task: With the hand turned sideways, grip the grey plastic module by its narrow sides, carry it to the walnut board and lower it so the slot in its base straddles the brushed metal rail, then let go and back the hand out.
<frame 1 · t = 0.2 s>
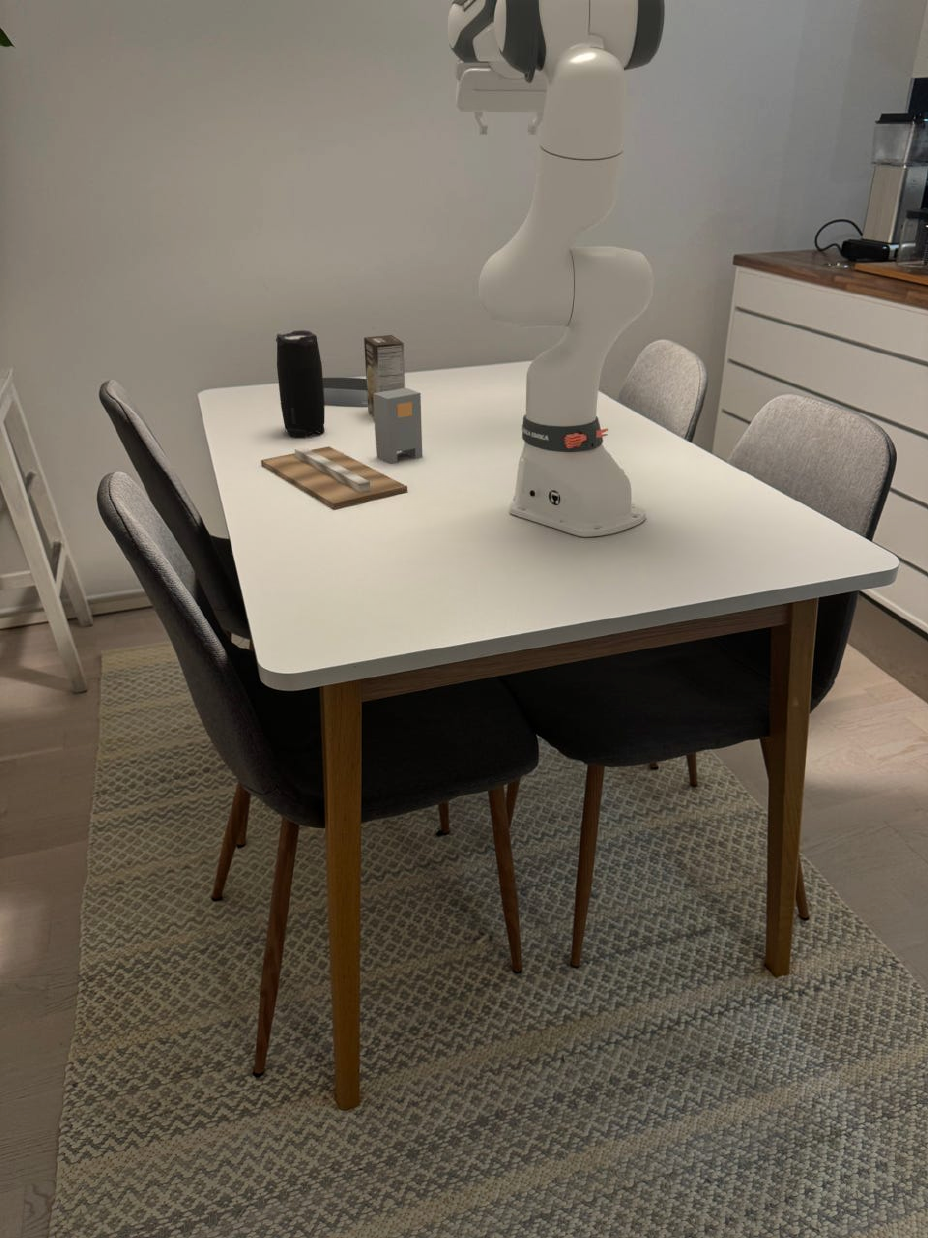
hand: (507, 133, 175), 54 cm above the table, tool tilted 30°, fingers open, 8 cm apart
rail: (331, 477, 162), on the table
coffee box: (387, 416, 198), on the table
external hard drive: (346, 401, 211), on the table
portable speaker: (305, 433, 187), on the table
module: (399, 456, 172), on the table
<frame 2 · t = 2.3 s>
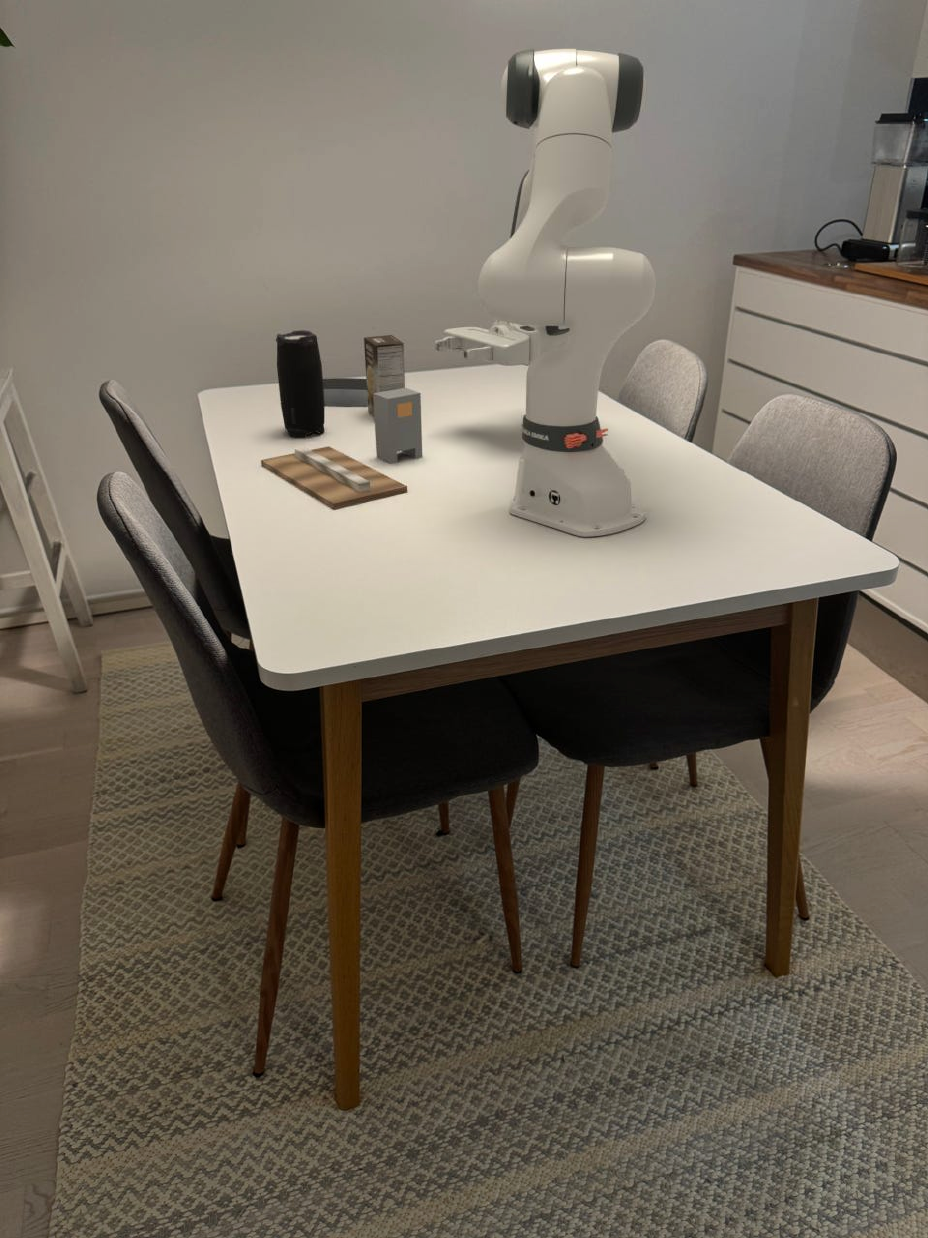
hand: (451, 350, 170), 18 cm above the table, tool horizontal, fingers open, 8 cm apart
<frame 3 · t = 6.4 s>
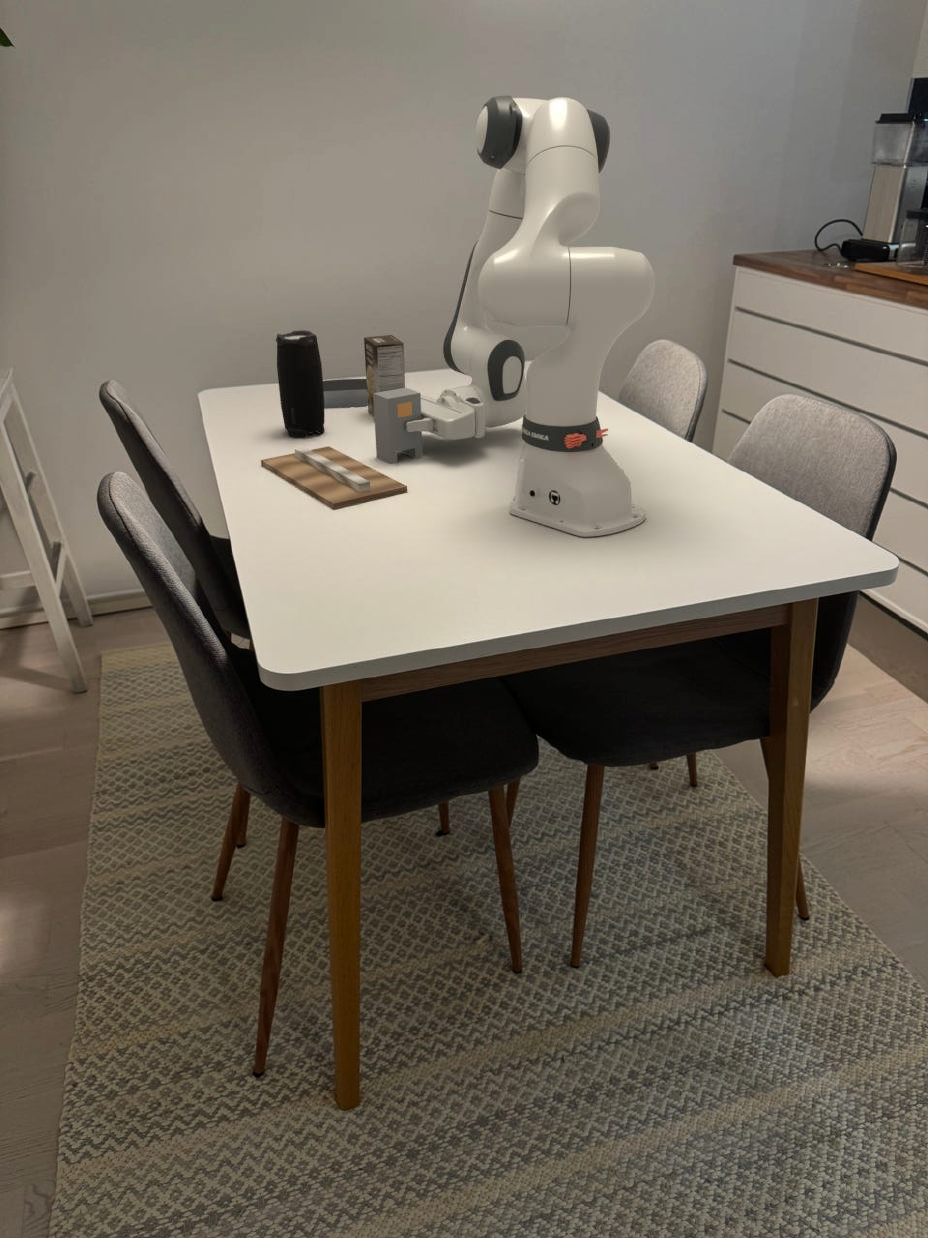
hand: (396, 423, 169), 7 cm above the table, tool horizontal, fingers closed on module, 5 cm apart
module: (399, 456, 172), on the table, touching gripper
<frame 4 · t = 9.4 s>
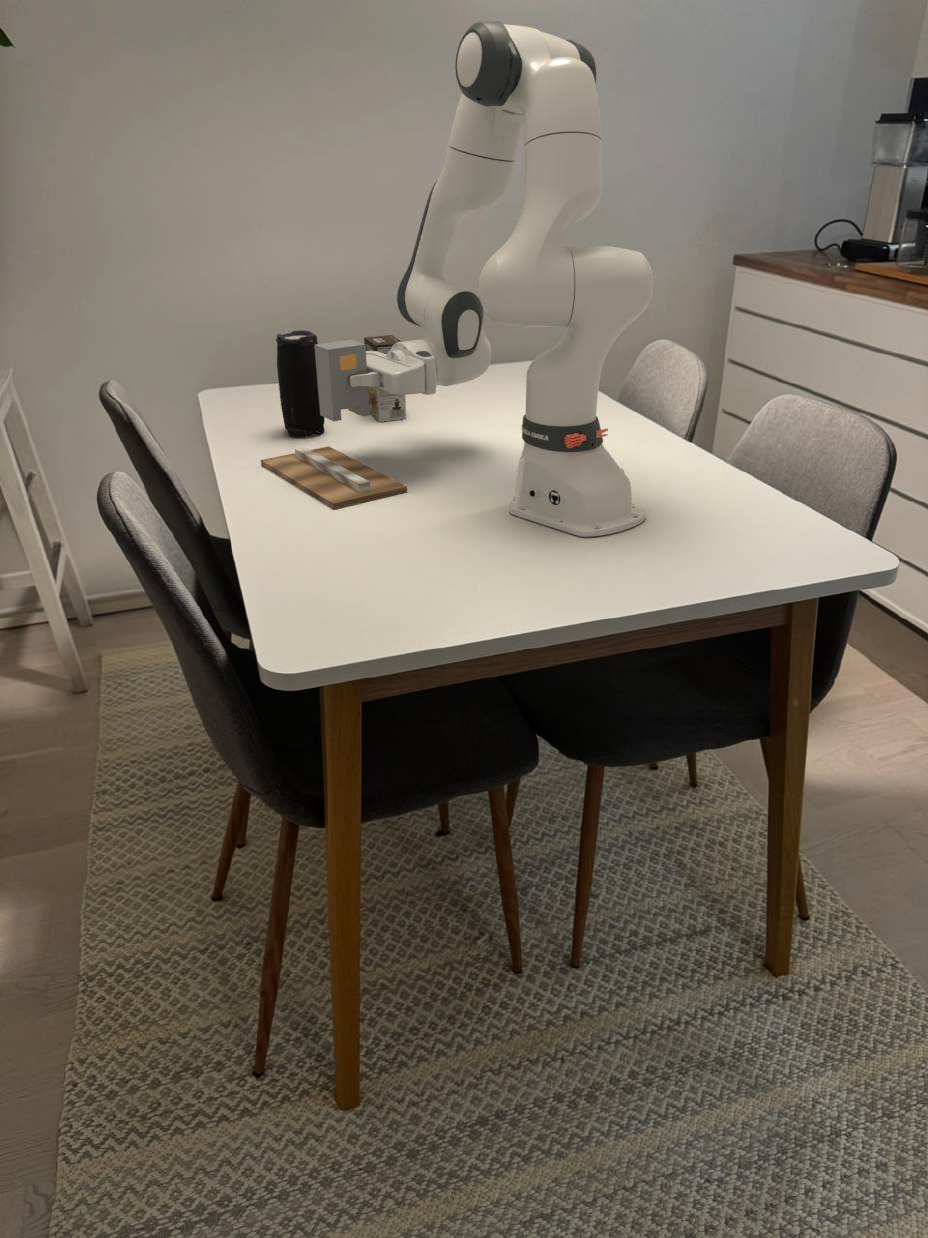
hand: (340, 377, 157), 17 cm above the table, tool horizontal, fingers closed on module, 5 cm apart
module: (344, 414, 160), point 10 cm above the table, touching gripper
when the fingers open (8 cm above the table, at t = 12.3 s): module stays where it is, resting on rail.
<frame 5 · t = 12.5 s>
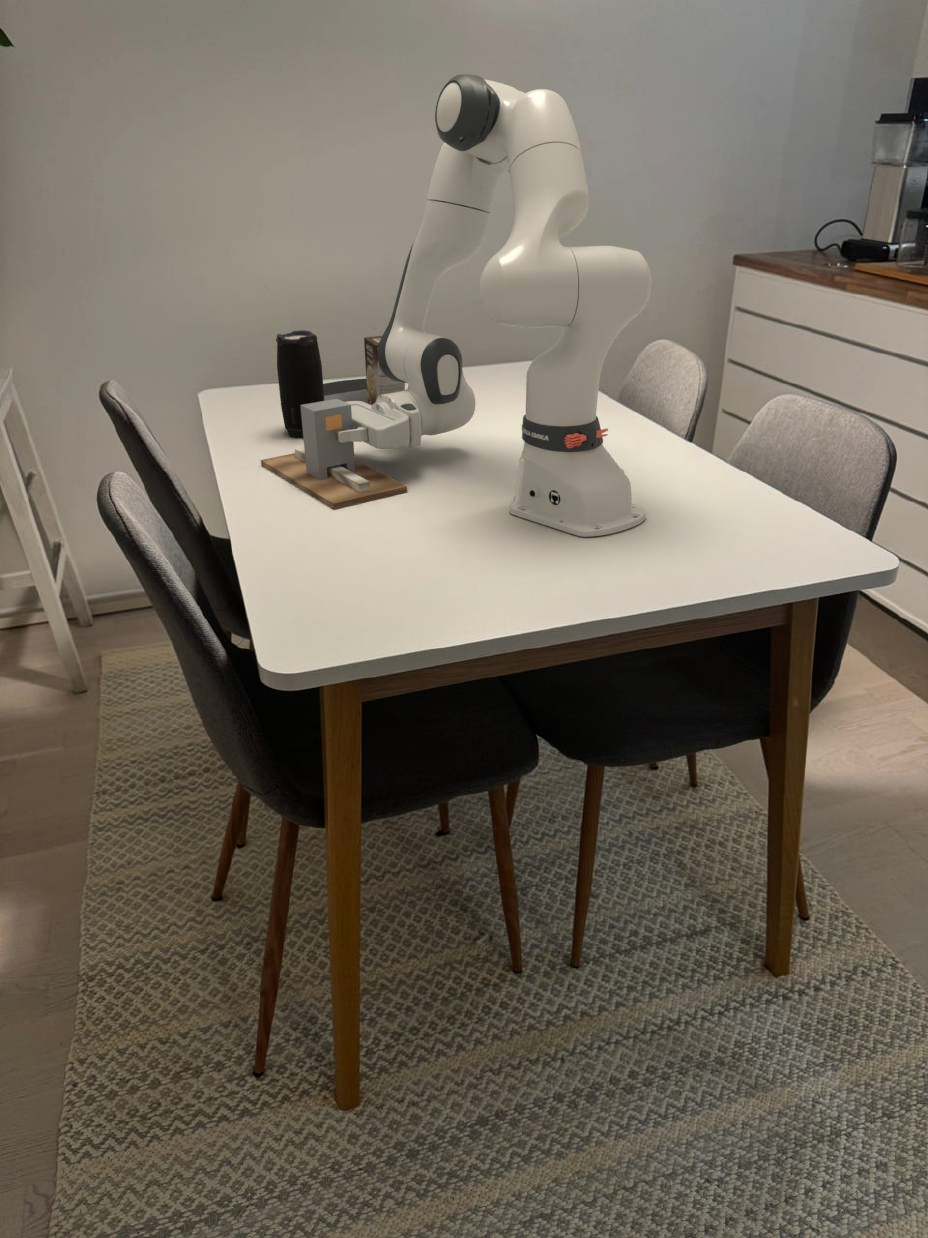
hand: (325, 431, 158), 8 cm above the table, tool horizontal, fingers open, 7 cm apart
module: (331, 472, 162), point 1 cm above the table, touching rail
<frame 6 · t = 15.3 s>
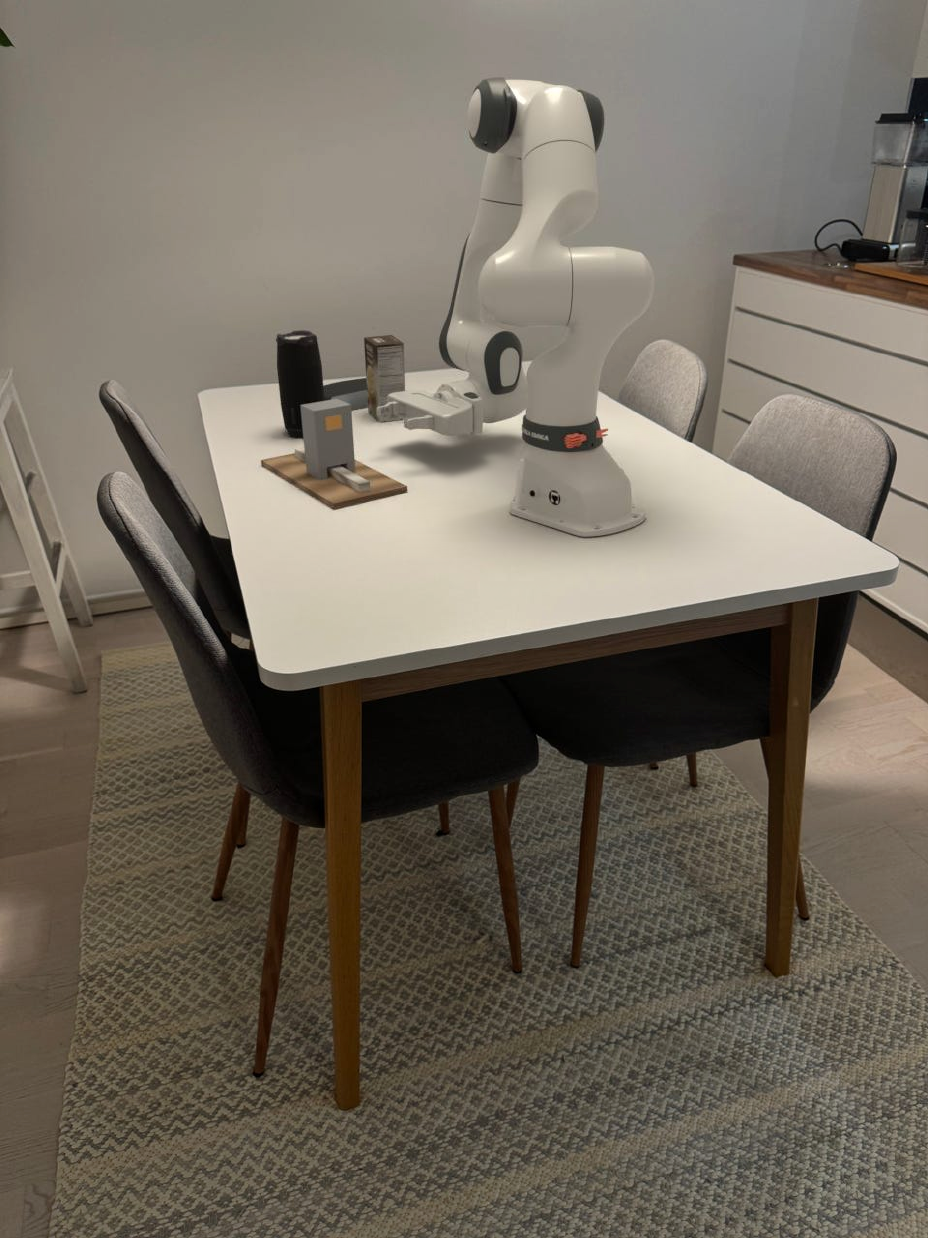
hand: (392, 418, 165), 8 cm above the table, tool horizontal, fingers open, 8 cm apart
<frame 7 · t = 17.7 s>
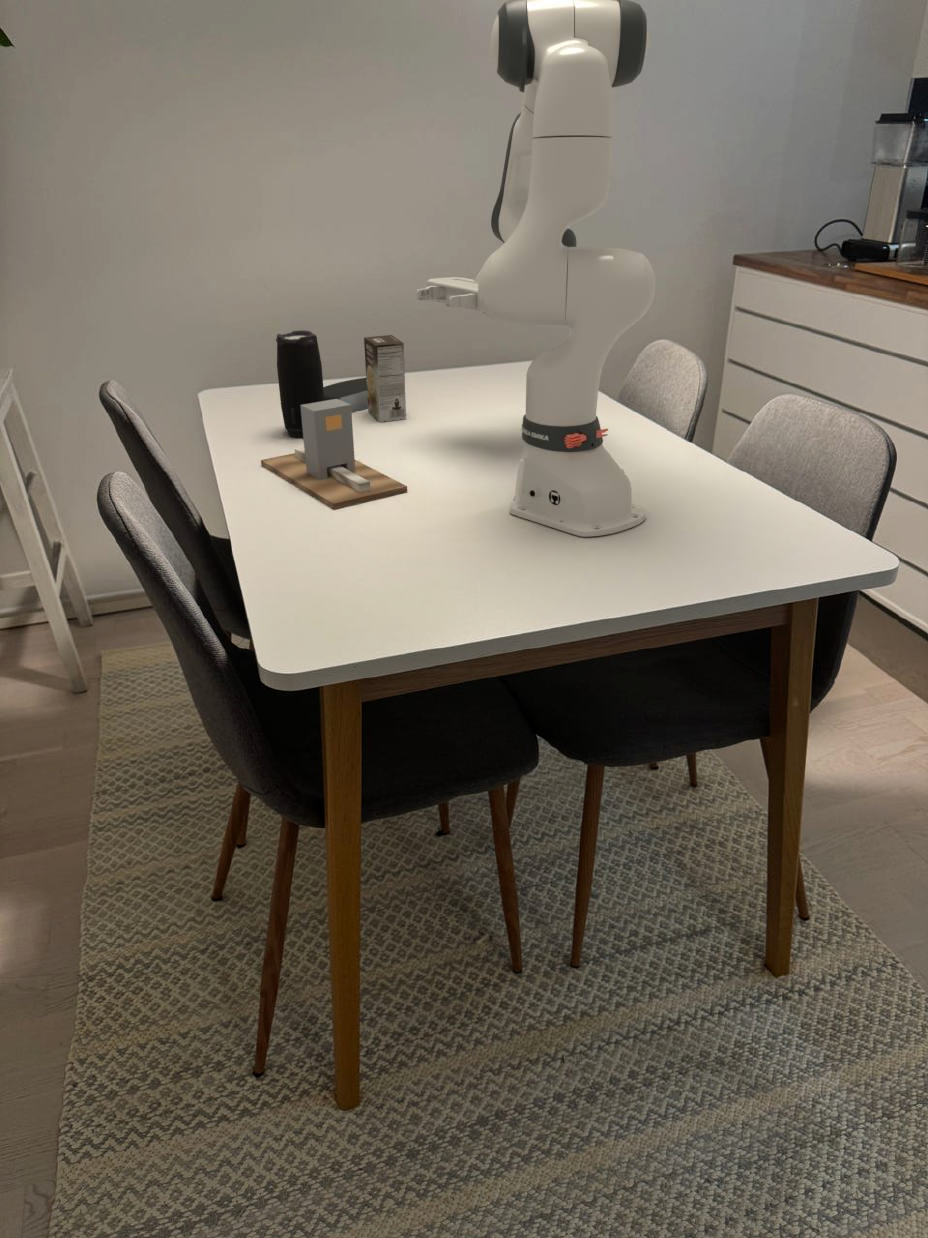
hand: (433, 298, 162), 28 cm above the table, tool horizontal, fingers open, 8 cm apart
at the end: module inside the target area on the rail (0.0 cm from its centre), point 1.0 cm above the rail's base; module tilted 0°; the gripper is holding nothing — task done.
